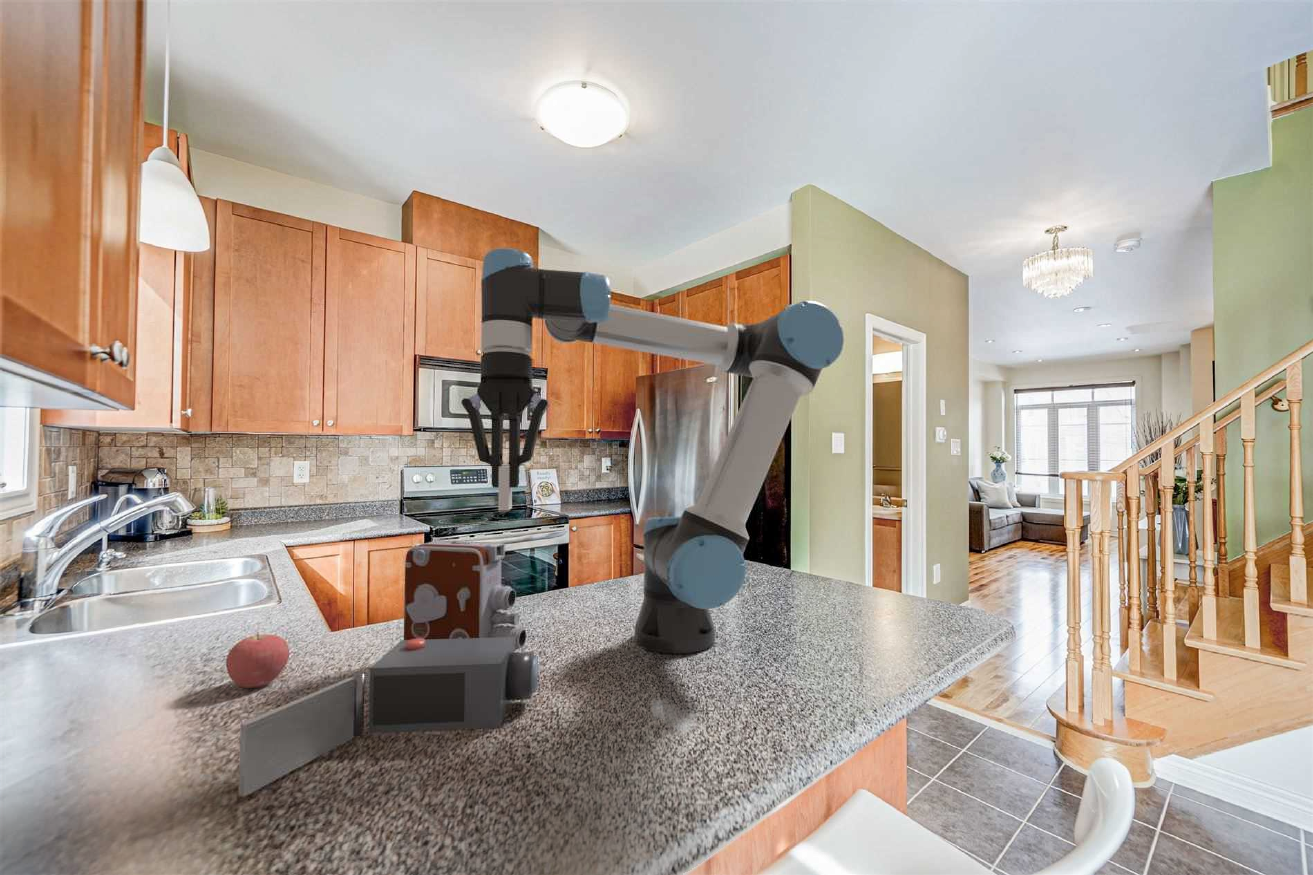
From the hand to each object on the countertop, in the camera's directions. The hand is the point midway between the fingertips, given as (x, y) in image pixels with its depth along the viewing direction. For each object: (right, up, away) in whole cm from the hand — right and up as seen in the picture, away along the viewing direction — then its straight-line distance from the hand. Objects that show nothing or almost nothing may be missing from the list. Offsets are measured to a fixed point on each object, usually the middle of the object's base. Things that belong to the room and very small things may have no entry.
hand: (505, 509), depth 80 cm
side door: (-16, -25, -21) cm, 36 cm away
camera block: (-4, -26, -8) cm, 28 cm away
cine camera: (-9, -27, +8) cm, 30 cm away
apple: (-37, -27, 0) cm, 46 cm away
